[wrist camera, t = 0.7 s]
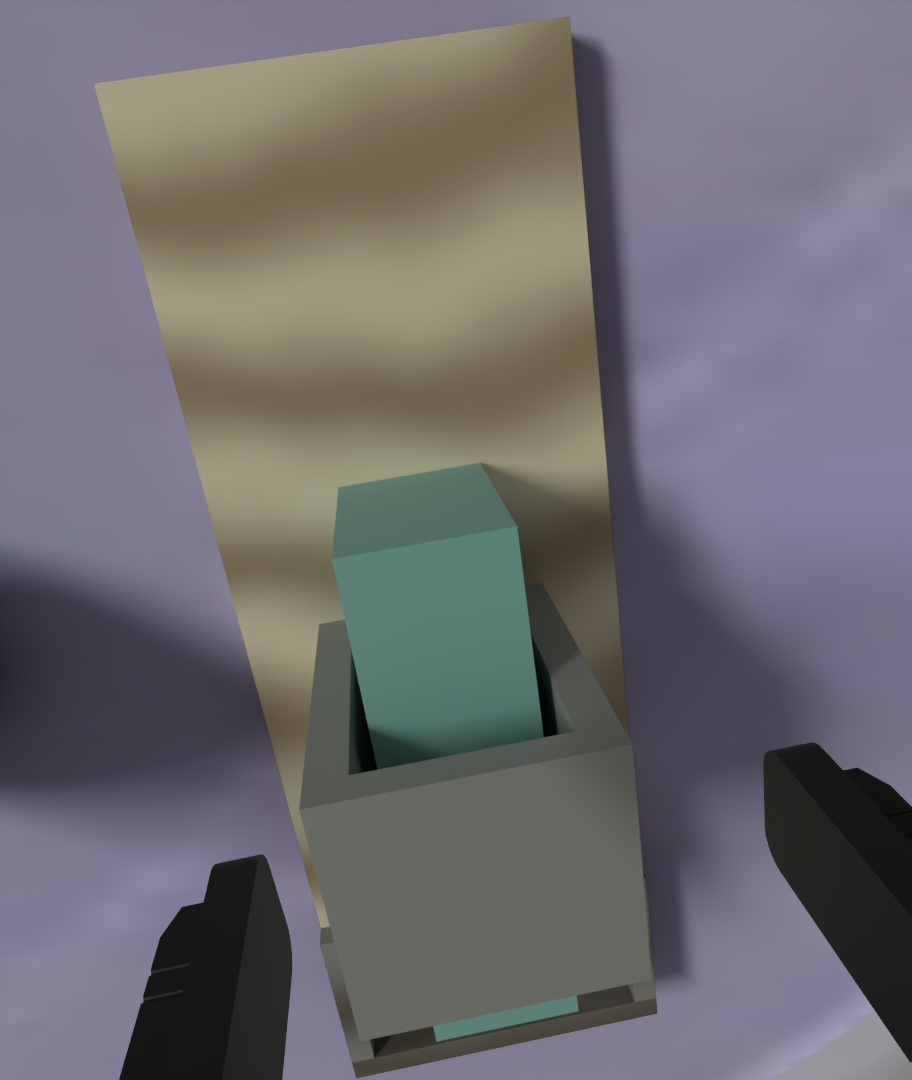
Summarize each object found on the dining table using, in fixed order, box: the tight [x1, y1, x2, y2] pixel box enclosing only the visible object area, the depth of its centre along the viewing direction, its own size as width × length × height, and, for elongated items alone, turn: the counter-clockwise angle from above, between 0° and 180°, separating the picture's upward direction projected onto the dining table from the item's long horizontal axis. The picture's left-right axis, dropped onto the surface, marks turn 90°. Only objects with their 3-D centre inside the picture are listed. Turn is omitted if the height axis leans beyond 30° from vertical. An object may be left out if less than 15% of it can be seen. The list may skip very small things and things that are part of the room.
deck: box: [94, 17, 657, 1078], centre depth 31 cm, size 40×14×2 cm, turn 8°
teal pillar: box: [332, 463, 579, 1042], centre depth 28 cm, size 18×5×7 cm, turn 8°
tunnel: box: [299, 583, 652, 1042], centre depth 26 cm, size 8×8×10 cm
